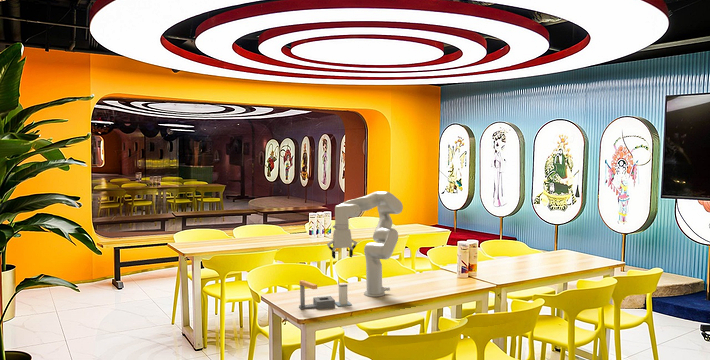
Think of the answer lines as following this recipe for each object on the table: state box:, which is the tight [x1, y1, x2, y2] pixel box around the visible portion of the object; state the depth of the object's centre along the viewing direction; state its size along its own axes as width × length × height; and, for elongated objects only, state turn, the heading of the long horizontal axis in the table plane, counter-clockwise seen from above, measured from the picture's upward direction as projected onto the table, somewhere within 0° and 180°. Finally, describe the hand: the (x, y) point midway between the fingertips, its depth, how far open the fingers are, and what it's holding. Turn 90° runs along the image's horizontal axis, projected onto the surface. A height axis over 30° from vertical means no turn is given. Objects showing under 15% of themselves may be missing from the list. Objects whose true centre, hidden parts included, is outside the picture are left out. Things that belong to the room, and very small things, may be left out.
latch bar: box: [299, 279, 318, 290], centre depth 271 cm, size 16×3×2 cm, turn 35°
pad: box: [335, 300, 353, 308], centre depth 282 cm, size 8×8×1 cm
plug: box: [337, 282, 349, 304], centre depth 282 cm, size 4×4×11 cm
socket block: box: [298, 284, 336, 310], centre depth 278 cm, size 18×10×13 cm, turn 107°
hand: (342, 257), depth 282 cm, fingers open, 9 cm apart
